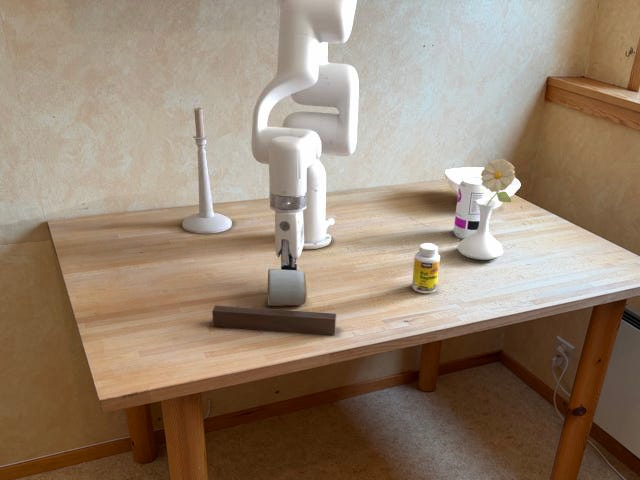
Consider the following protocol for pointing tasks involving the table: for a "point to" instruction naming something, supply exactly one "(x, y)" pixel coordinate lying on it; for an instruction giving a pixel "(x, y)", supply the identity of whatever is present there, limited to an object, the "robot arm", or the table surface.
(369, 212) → the table surface
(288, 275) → the ceramic mug
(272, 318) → the board
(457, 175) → the bowl
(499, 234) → the table surface
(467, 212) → the supplement can
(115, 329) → the table surface
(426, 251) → the supplement bottle
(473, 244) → the flower in vase
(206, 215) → the candlestick
